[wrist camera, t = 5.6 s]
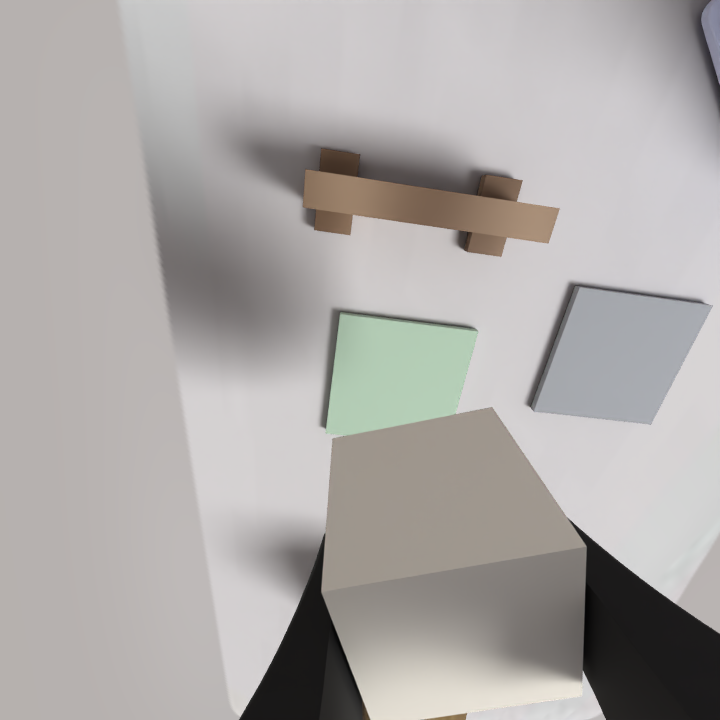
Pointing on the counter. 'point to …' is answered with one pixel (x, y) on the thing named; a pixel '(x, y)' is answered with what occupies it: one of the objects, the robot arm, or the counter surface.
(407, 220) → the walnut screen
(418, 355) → the green mat
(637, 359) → the grey mat
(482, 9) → the counter surface
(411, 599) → the lettered cube
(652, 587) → the robot arm
